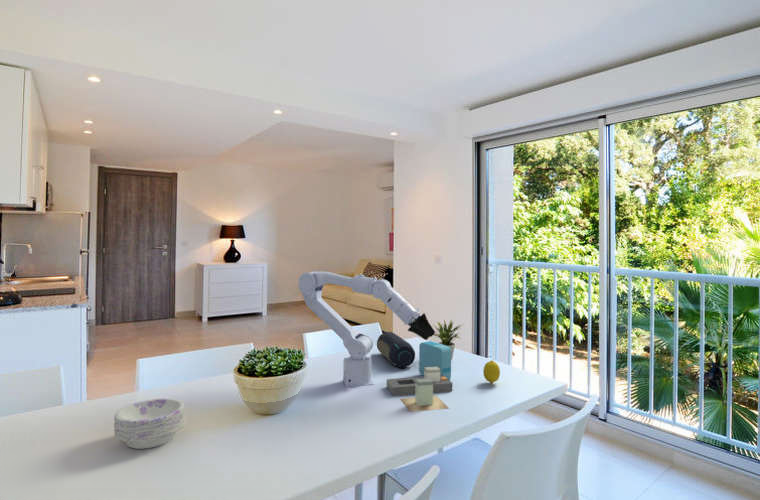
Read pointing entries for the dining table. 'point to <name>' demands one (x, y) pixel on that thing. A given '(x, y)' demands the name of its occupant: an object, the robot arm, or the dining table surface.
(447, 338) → the house plant
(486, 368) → the lemon
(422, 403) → the plug
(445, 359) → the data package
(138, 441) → the paper bowls
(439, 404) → the cork mat
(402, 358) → the portable speaker
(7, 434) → the dining table surface
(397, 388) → the power strip
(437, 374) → the twin plug
